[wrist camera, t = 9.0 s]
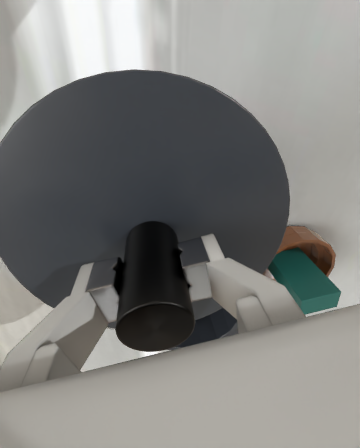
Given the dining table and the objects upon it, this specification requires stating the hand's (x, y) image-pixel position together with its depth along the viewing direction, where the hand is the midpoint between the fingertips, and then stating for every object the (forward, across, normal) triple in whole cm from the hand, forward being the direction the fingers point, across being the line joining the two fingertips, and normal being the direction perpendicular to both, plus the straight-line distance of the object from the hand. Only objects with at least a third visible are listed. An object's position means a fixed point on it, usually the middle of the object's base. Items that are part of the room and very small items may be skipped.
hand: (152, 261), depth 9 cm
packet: (+18, -16, +21) cm, 32 cm away
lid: (+2, 0, 0) cm, 2 cm away
